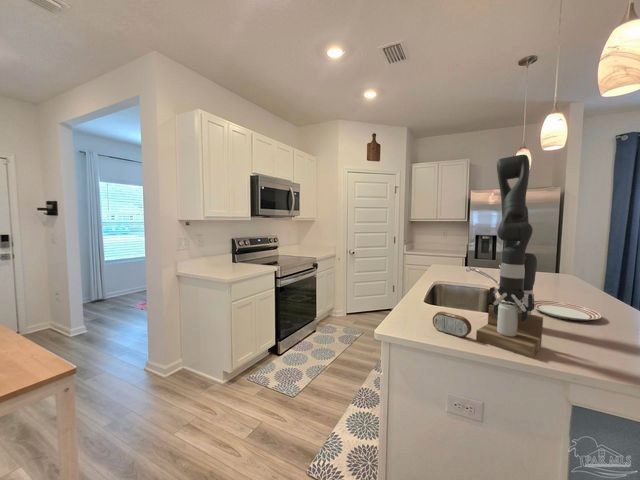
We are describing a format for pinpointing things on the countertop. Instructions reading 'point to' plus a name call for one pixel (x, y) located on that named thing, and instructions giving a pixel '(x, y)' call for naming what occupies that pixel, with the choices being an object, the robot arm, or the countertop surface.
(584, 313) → the dinner plate
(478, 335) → the walnut shelf
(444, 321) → the tin
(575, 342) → the countertop surface
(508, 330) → the beverage can
